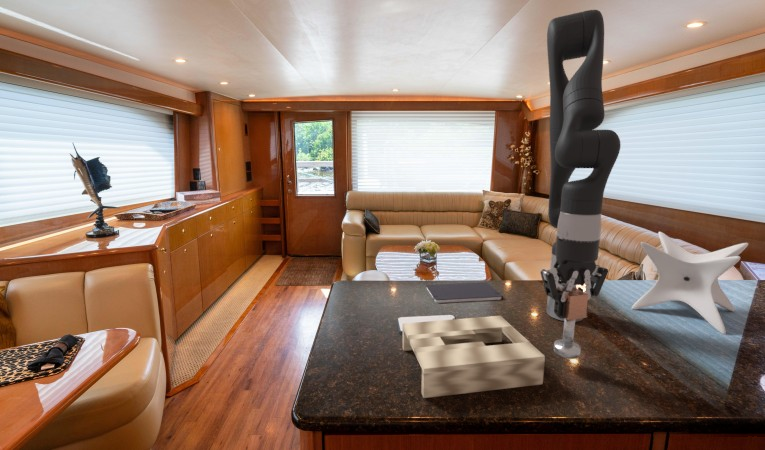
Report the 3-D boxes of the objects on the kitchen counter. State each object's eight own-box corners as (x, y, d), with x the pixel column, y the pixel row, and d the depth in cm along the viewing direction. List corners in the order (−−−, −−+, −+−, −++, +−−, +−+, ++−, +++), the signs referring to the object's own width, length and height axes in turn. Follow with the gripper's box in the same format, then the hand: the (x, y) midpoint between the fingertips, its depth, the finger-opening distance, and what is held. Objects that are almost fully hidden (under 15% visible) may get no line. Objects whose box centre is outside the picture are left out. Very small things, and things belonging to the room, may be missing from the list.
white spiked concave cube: (630, 309, 105) (640, 241, 101) (649, 291, 118) (658, 231, 114) (725, 334, 90) (740, 256, 86) (734, 311, 103) (748, 242, 99)
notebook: (486, 286, 124) (425, 289, 122) (486, 281, 124) (425, 284, 122) (502, 301, 112) (435, 304, 110) (503, 296, 112) (435, 299, 109)
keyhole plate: (498, 338, 89) (500, 315, 87) (542, 384, 71) (545, 356, 70) (402, 347, 85) (402, 323, 84) (423, 398, 67) (424, 368, 66)
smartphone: (399, 338, 90) (462, 335, 91) (399, 332, 90) (463, 329, 91) (395, 322, 99) (454, 319, 100) (395, 316, 99) (454, 313, 99)
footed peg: (569, 344, 80) (575, 286, 77) (585, 357, 75) (592, 295, 72) (548, 346, 79) (553, 288, 76) (563, 359, 74) (569, 297, 71)
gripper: (596, 228, 76) (587, 305, 80) (533, 232, 74) (528, 311, 77) (625, 237, 69) (614, 320, 73) (557, 241, 67) (549, 327, 70)
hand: (570, 315), depth 75 cm, fingers closed on footed peg, 4 cm apart
